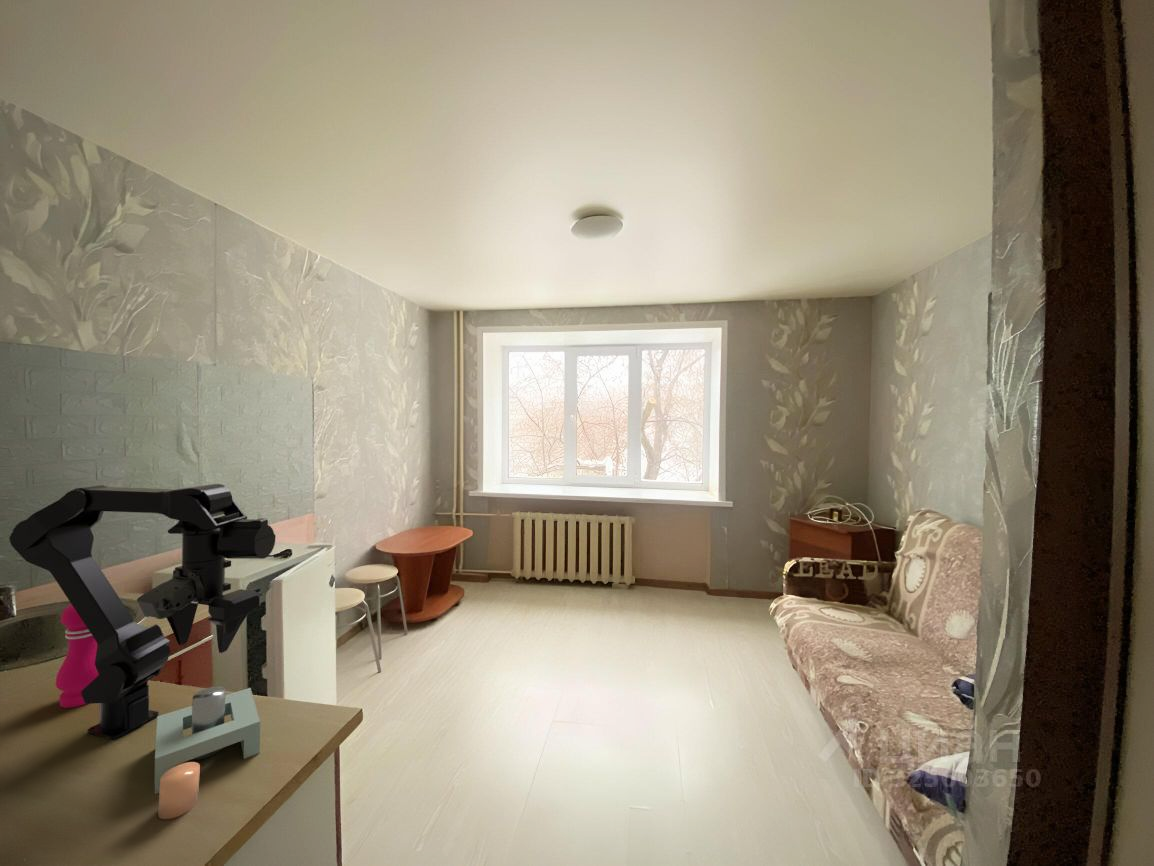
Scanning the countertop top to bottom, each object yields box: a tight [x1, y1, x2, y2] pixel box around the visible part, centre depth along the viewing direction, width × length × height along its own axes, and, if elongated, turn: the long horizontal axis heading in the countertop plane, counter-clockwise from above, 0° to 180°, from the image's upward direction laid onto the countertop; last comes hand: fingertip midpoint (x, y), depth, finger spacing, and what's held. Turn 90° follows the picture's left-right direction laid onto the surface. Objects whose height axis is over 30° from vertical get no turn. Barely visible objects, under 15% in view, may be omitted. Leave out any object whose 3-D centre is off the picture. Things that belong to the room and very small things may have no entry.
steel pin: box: [190, 685, 226, 760], centre depth 70 cm, size 4×4×9 cm
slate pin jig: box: [154, 687, 261, 795], centre depth 70 cm, size 12×12×5 cm
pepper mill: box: [55, 603, 99, 709], centre depth 83 cm, size 7×7×20 cm
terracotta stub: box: [157, 761, 201, 820], centre depth 60 cm, size 4×4×4 cm
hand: (202, 648), depth 77 cm, fingers open, 9 cm apart
